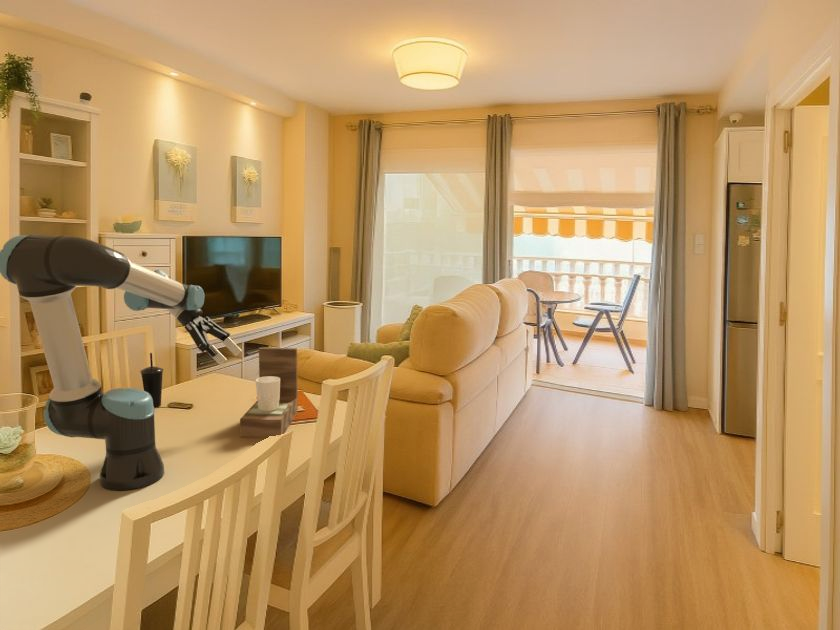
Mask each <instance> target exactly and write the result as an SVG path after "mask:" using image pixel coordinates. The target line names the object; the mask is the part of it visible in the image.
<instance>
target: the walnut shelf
mask: <svg viewBox="0 0 840 630" xmlns="http://www.w3.org/2000/svg"><path fill="white" fill-rule="evenodd" d="M258 367H259V369H258V376H259V377H258V378H260V377H265V376H275V377H279V378H280V400H279V408H278V409H277V410H273V411H261V410H259V409H258V401H257V400H256V402H254V404H253V405H252V406H251V407H250V408H249V409H248V410H247V411H246V412H245V413H244V414H243V415H242V416H241V418H240V419H239V426H240V427H239V428H240V429H239V431H240V438H261V439H262V438H265V439H266V437H269V436H276V435H281V434H285V433H286V432H287V430H288V429H289V427H290V425H291V424H292V422H293V421H294V419H293V417H294V415H295V414H296V412H297V410H299V408H298V401H299V399H298V398H299V397H298V348H297V347H293V348H292V347H291V348H290V347H259V348H258ZM292 420H293V421H292Z"/></svg>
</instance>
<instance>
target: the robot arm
mask: <svg viewBox="0 0 840 630" xmlns="http://www.w3.org/2000/svg"><path fill="white" fill-rule="evenodd" d="M0 275H1V276H2V278H3V279H4V280H7V282H9V283H11V284H14V285H16V287H17V288H16V289H17V291H18V293H19V296H20V297H21V298H22V299H25V300H27V302H29V304H30V308H31V311H32V315H33V318H34V322H35V326H36V328H37V333H38V336H39V339H40V342H41V346H42V350H43V353H44V357H45V361H46V364H47V368H48V370H49V374H50V377H51V382H52V384H53V388H52V389H51V391H50V392H49V398H47V400H46V402H45V404H44V406H45V407H46V408H45V409H44V410H43V418H44V423H45V425H46V427H47V428H48V429H49V430H50V431H51V432H52V433H54V434H56V435H59V436H63V437H67V438H85V439H95V440H104V442H105V457H104V459H103V464H102V466H101V469H100V474H99V484H100V485H101V487H102V488H103V489H106V490H110V491H127V490H136V489H140V488H143V487H147V486H149V485H152V484H154V483H155V482H158V481H159V480H161V479H162V477H164V475H165V465H164V462H163V460H162V457H161V456H160V453H159V451H158V449H157V444H156V428H155V411H156V410H155V408H154V406H153V399H152V397H151V395H150V394H149V393H147V392H146V391H144V389H139V388H132V387H127V388H123V387H120V388H114V389H113V388H112V389H110V390H108V391H105V392H104V391H103V387H102V384H101V382H100V381H99V380H98V379H96V378H93V376H92V373H91V368H90V364H89V361H88V357H87V352H86V349H85V345H84V341H83V336H82V334H81V329H80V324H79V322H78V318H77V312H76V310H75V307H74V306H75V305H74V303H73V298H72V293H73V292H74V291H75V289H76V288H77V286H78V287H79V286H81V287H83V286H84V287H85V286H86V287H100V288H103V289H106V290H114V289H118V290H122V291H125V292H124V294H123V299H124V300H123V301H124V304H125V305H126V307H127V308H128V309H129V310H131V311H135V312H140V311H144V310H146V309H163V310H168V311H169V312H168V313H169V314H171V315H172V316H173V317H174V318H176V319H177V321H178V322H179V323H180V324H181V325H182V326H183V327H184V329H185V330H186V331H187V332H188V334H189V335H190V337H191V339H192V340H193V342H194V344H195V346H196V347H197V349H198V350H199V351H200V352H202V353H205V352H206V353H208V355H209V356H210V357H211V358H212V359H213V360H214V361H215V362H216V363H217V364H218V365H219V366H222V365H223V364H225V362H226V361H228V359H227V358H226V357H225V356H224V355H223V354H222V352H220V350H218V348H217V347H216V346H214V344H211V343H210V340H209V338H208V336H207V334H209V335H211V336H212V337H214V338H216V339H218V340H220V341H222V342H221V343H222V344H223V345H224V346H225V347H226V348H227V349H228V350H229V351H230V352H231V353H232V354H233V355H234V356H235V357H237V356H239V354H240V353H242V352H243V350H242V349H241V348H240V347H239V345H237V344H236V342H234V341H233V340H232V339H231V338H230V336H231V333H230V332H228V331H227V330H226V329H224V328H223V327H221V326H220V325H219V324H217V322H215V321H213V320H212V319H211V318H210V317H209V316H208V315H207V316H205V317H203V316H202V314H203V310H202V309H201V308H202V307H203V306H204V303H205V297H206V296H205V292H204V289H203V288H202V287H201V286H200V285H196V284H195V285H193V284H184V283H182V282H179V281H177V280H175V279H173V278H172V277H171V276H169V275H168V274H167V273H166V272H164V270H161V269H156V270H154V271H153V270H151V269H149V268H147V267H144V266H142V265H140V264H138V263H135V262H133V261H131V260H129V258H128V256H127V255H125V254H124V253H122V252H121V251H118V250H116V249H113V248H111V247H109V246H106V245H104V244H102V243H99V242H96V241H93V240H91V239H87V238H85V237H81V236H74V235H49V234H48V235H47V234H46V235H44V234H37V233H36V234H35V233H33V234H24V235H23V234H22V235H21V234H20V235H16V236H13V237H12V238H10V239H8V240H7V241H5V243H4V244H3V247H2V249H1V250H0Z"/></svg>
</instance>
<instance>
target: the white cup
mask: <svg viewBox="0 0 840 630" xmlns="http://www.w3.org/2000/svg"><path fill="white" fill-rule="evenodd" d="M255 387H256V390H255V391H256V399H257V400H256V402H257V401H258V409H259V410H261V411H273V410H277V409H278V408H279V400H280V378H279V377H275V376H265V377H260V378H259V377H258V378H255Z"/></svg>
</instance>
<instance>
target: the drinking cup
mask: <svg viewBox="0 0 840 630" xmlns="http://www.w3.org/2000/svg"><path fill="white" fill-rule="evenodd" d="M149 359H150V360H149V362H150V366H147V367H145V368H143V369H141V370H140V372H139V373H140V374H141V380H142V386H143V391H146V392H147V393H149V394H150V395H151V397H152V399H153V406H154V409H157V408H160V407H161V406H162V393H163V391H162V390H163V372H164V368H162V367H159V366H153V365H154V364H153V353H152V352H150V353H149ZM159 406H160V407H159ZM156 407H157V408H156Z"/></svg>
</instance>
